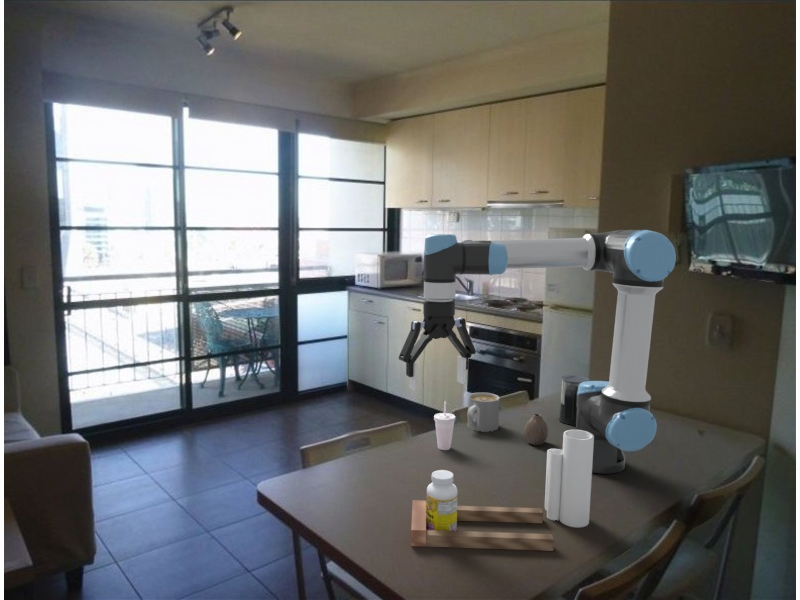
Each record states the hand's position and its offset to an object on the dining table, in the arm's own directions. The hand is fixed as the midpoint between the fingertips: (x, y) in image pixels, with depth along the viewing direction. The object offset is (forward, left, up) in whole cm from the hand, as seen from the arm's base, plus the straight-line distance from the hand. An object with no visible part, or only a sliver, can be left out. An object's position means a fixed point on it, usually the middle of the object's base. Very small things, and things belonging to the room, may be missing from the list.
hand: (437, 386), depth 143 cm
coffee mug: (-15, -46, -27) cm, 55 cm away
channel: (-10, +19, -27) cm, 34 cm away
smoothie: (-3, -28, -27) cm, 39 cm away
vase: (-31, -34, -27) cm, 53 cm away
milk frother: (-50, -52, -27) cm, 77 cm away
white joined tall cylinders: (-29, +11, -27) cm, 41 cm away
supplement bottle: (-1, +19, -27) cm, 33 cm away
